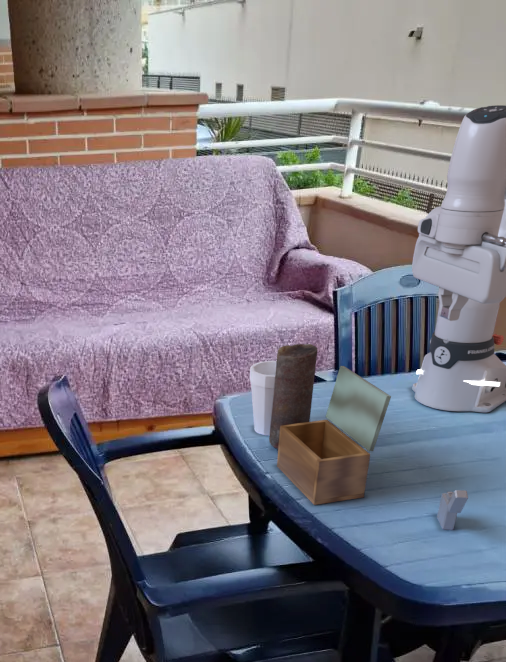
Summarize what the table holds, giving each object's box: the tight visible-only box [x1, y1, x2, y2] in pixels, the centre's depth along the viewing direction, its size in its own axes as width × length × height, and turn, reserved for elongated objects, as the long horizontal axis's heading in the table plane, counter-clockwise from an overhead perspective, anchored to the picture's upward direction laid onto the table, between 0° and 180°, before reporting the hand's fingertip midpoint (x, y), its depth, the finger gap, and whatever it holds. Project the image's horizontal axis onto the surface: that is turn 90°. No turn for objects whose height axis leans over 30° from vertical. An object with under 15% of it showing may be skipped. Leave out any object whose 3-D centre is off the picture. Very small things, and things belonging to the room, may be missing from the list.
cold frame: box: [276, 419, 371, 506], centre depth 131 cm, size 9×16×8 cm, turn 12°
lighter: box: [436, 489, 469, 531], centre depth 116 cm, size 7×2×8 cm, turn 171°
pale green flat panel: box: [325, 365, 392, 453], centre depth 127 cm, size 10×16×1 cm
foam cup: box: [249, 360, 277, 437], centre depth 150 cm, size 10×9×13 cm
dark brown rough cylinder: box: [268, 343, 318, 450], centre depth 141 cm, size 8×7×20 cm
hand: (448, 318), depth 122 cm, fingers closed
